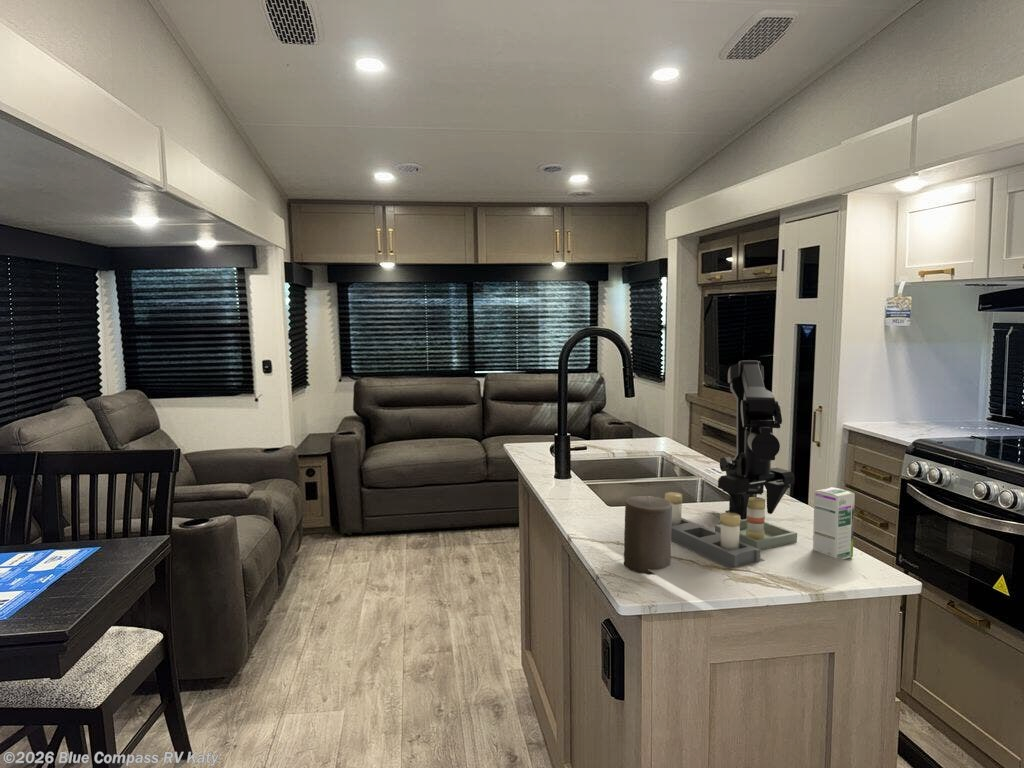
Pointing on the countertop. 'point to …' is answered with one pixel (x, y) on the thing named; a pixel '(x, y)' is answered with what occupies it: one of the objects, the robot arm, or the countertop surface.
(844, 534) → the syrup box
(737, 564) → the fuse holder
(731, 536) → the cylinder
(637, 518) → the pillar candle
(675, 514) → the cylinder
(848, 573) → the countertop surface
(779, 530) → the tray
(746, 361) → the robot arm
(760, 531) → the cylinder
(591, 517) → the countertop surface
